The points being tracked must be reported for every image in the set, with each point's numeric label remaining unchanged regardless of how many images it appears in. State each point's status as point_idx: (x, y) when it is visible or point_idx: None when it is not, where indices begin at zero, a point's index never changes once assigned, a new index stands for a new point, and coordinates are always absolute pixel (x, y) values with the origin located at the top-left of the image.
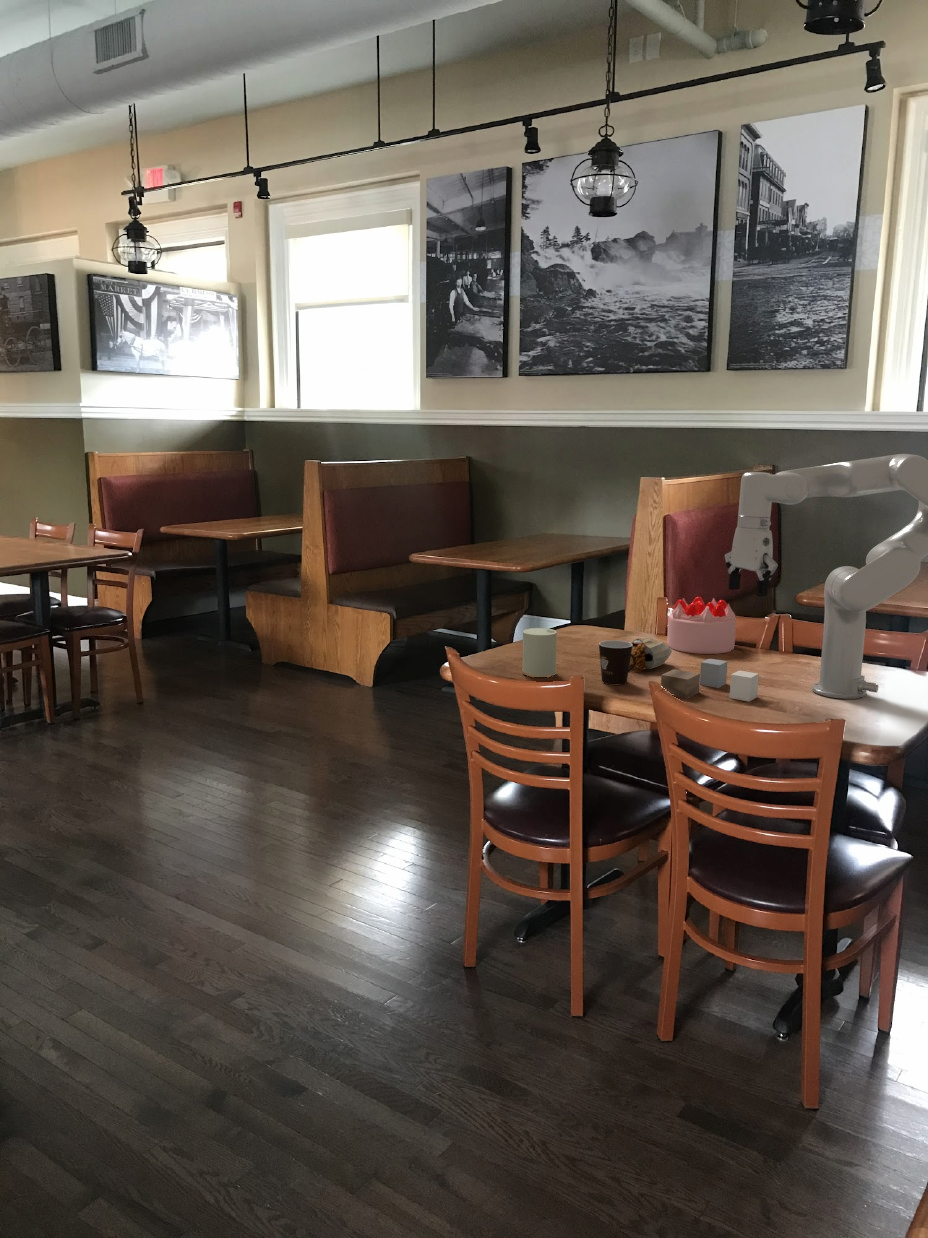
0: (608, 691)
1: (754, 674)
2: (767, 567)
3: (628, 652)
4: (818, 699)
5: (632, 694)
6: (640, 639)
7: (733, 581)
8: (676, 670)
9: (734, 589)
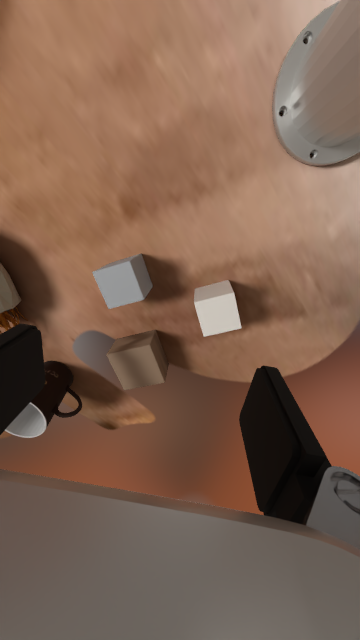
0: (92, 407)
1: (232, 304)
2: (316, 573)
3: (49, 408)
4: (317, 195)
5: (117, 397)
6: None
7: (9, 405)
8: (114, 357)
9: (39, 356)
